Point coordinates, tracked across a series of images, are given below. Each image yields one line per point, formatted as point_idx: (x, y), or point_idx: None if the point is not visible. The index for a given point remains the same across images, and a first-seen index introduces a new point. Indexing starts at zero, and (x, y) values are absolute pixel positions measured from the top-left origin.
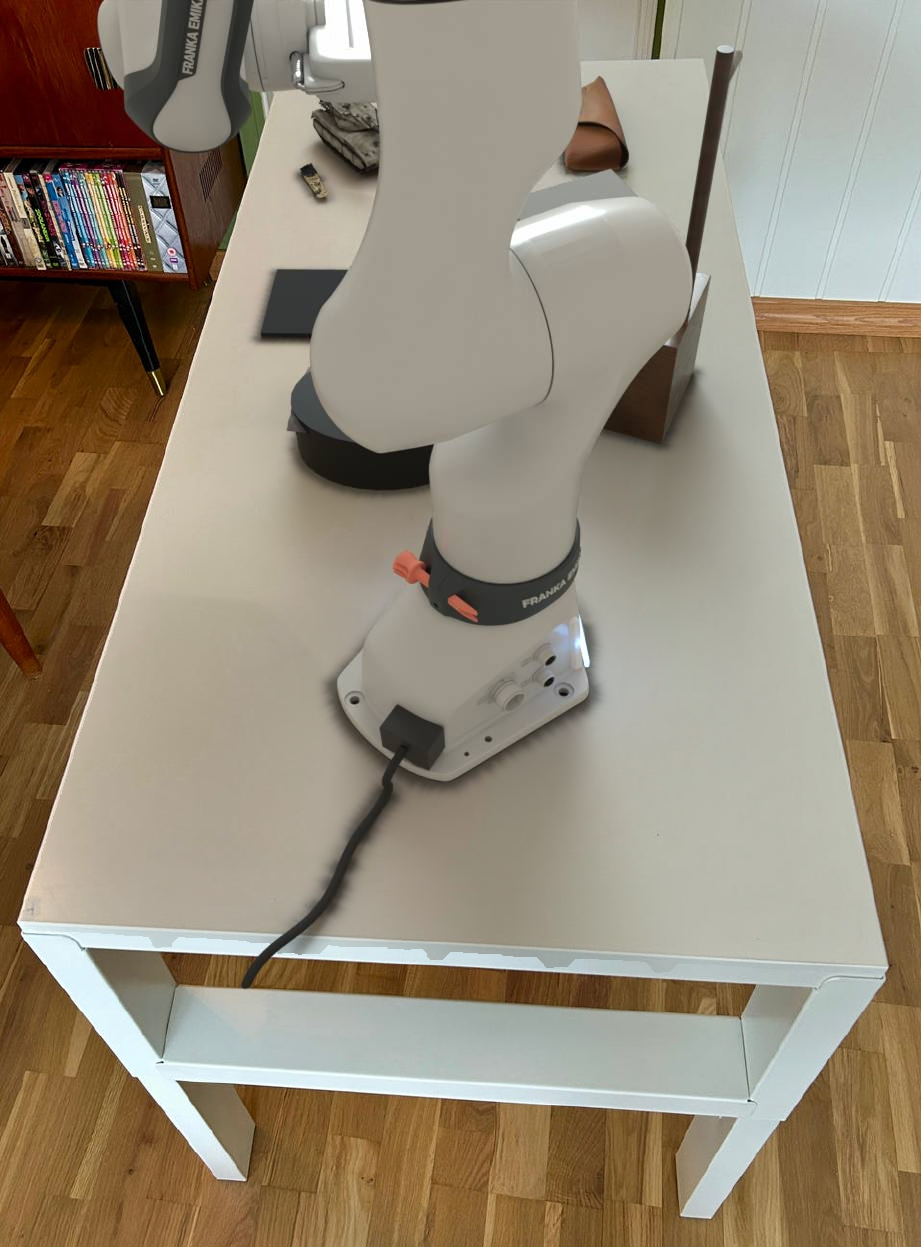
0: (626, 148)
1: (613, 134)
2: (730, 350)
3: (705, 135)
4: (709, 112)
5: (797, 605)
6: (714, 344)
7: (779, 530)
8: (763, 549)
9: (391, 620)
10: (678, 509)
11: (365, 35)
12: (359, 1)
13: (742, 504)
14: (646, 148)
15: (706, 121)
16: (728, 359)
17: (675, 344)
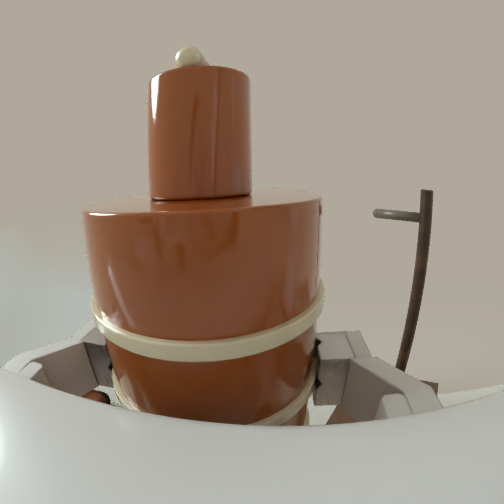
0: (105, 393)
1: (91, 392)
2: (324, 405)
3: (427, 254)
4: (429, 236)
5: (491, 387)
6: (317, 411)
7: (457, 394)
8: (469, 398)
9: None
10: None
11: (496, 495)
12: (34, 494)
13: (446, 406)
14: (99, 388)
15: (427, 244)
16: (332, 407)
17: (435, 383)
